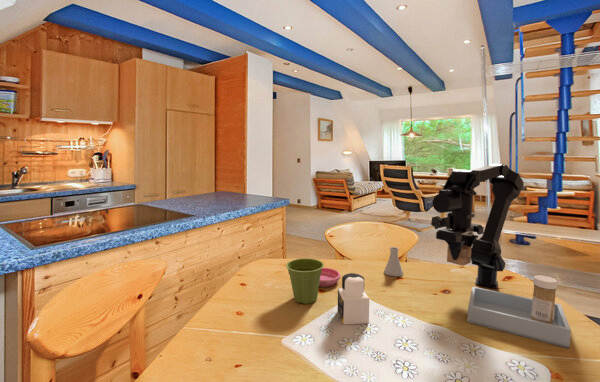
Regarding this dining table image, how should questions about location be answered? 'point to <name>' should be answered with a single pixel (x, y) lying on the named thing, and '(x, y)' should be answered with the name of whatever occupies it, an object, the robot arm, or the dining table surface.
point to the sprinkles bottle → (543, 299)
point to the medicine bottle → (353, 300)
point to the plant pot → (305, 278)
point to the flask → (393, 264)
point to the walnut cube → (460, 256)
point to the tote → (516, 317)
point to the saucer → (328, 277)
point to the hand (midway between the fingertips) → (458, 258)
